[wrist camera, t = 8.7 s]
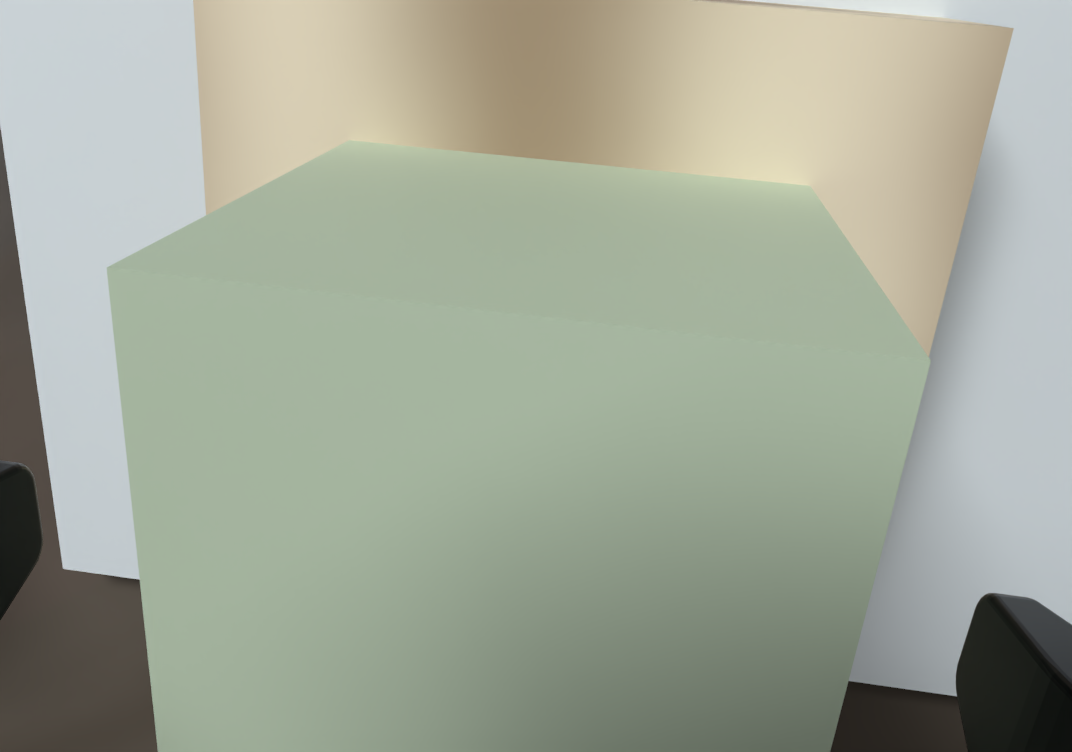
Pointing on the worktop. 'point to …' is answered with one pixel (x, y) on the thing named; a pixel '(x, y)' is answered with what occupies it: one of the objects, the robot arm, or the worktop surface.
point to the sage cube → (507, 459)
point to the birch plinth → (627, 102)
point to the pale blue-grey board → (1021, 3)
